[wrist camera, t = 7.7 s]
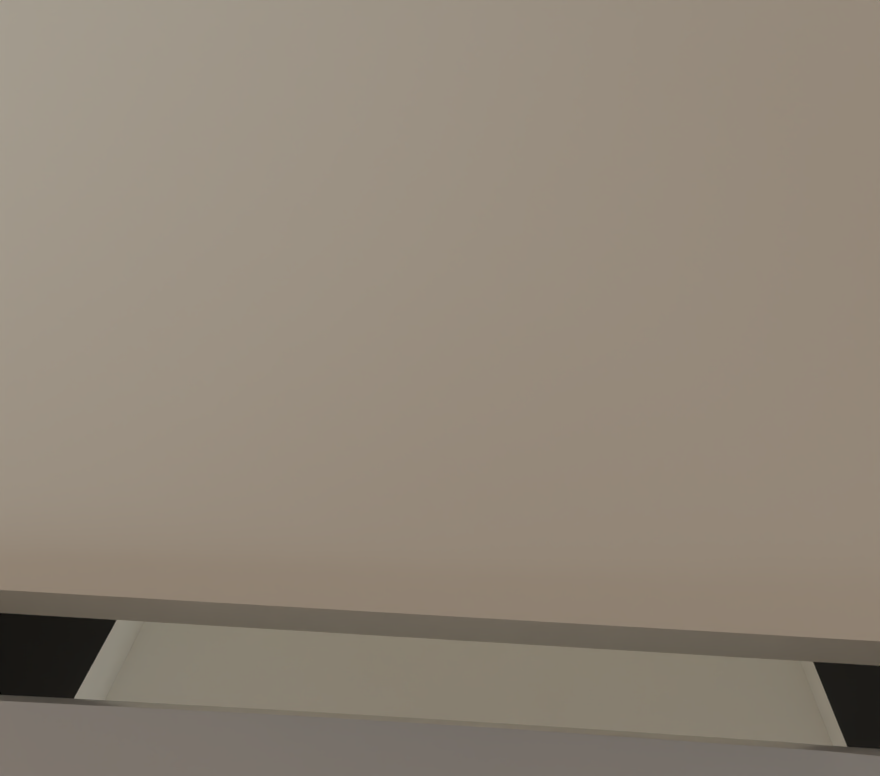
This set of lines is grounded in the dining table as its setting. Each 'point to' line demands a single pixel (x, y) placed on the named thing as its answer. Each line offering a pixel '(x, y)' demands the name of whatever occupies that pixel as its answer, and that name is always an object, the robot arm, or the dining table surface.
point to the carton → (463, 681)
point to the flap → (446, 319)
